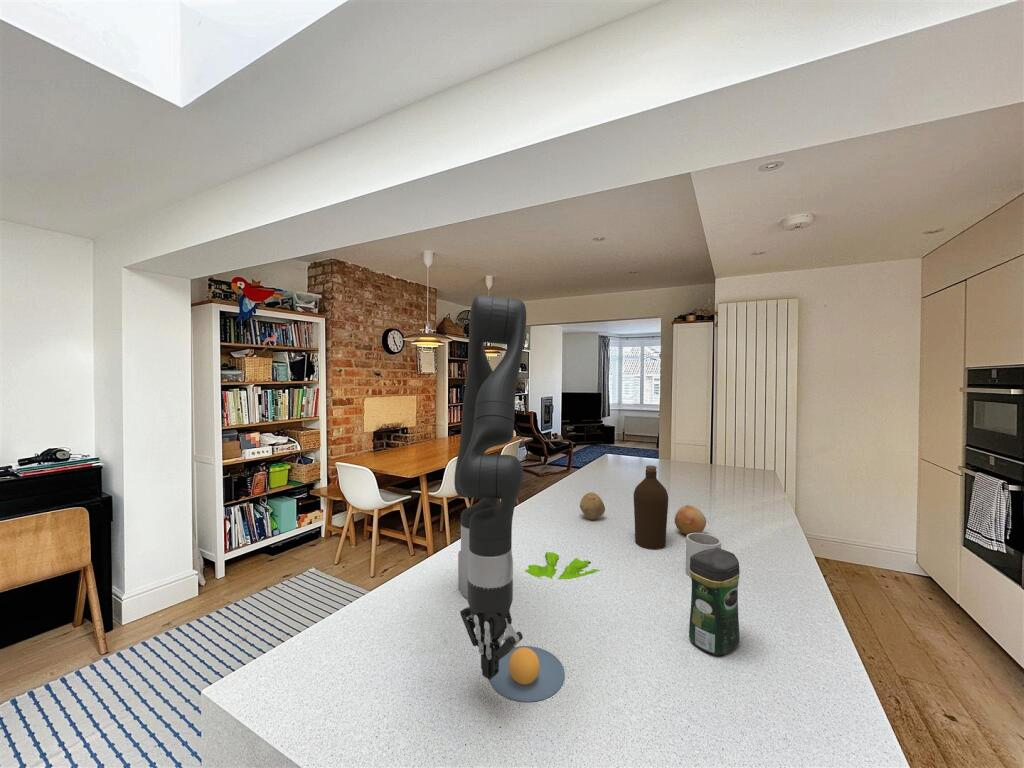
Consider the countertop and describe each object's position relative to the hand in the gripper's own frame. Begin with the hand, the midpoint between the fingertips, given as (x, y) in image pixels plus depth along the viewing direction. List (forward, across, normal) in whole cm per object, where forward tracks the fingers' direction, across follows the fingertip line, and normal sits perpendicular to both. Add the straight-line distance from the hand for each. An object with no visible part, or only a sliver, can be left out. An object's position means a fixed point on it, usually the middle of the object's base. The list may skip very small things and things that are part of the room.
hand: (489, 675), depth 70 cm
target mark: (+4, 0, -9) cm, 10 cm away
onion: (+5, 0, -96) cm, 96 cm away
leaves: (+6, +19, -49) cm, 53 cm away
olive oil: (+5, +7, -80) cm, 80 cm away
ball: (+2, -2, -7) cm, 7 cm away
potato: (+6, +33, -87) cm, 93 cm away
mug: (+5, -13, -71) cm, 72 cm away
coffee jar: (+4, -23, -41) cm, 47 cm away
